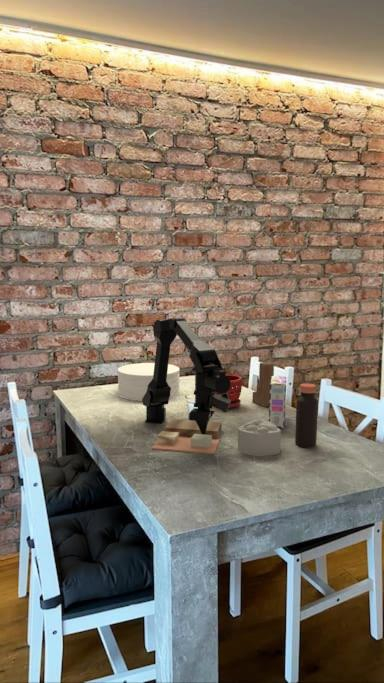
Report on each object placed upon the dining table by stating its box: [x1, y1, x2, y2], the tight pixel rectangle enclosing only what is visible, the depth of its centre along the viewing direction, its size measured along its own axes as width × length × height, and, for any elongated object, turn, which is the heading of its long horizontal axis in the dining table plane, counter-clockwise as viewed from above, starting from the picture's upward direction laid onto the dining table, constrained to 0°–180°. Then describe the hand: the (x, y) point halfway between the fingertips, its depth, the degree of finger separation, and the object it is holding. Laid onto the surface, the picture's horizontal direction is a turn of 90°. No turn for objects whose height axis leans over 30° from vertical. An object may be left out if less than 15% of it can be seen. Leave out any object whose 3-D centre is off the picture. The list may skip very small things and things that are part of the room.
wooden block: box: [251, 361, 275, 408], centre depth 211 cm, size 9×4×18 cm, turn 27°
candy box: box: [268, 375, 287, 429], centre depth 187 cm, size 14×6×16 cm, turn 168°
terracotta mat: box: [151, 436, 221, 455], centre depth 164 cm, size 20×12×1 cm, turn 78°
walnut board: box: [164, 418, 223, 439], centre depth 175 cm, size 18×10×3 cm, turn 78°
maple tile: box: [156, 430, 179, 445], centre depth 165 cm, size 6×5×2 cm
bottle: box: [294, 383, 319, 449], centre depth 163 cm, size 7×7×20 cm
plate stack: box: [117, 362, 181, 402], centre depth 229 cm, size 28×28×12 cm
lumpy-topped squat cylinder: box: [237, 419, 282, 457], centre depth 159 cm, size 10×13×9 cm
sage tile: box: [191, 434, 212, 448], centre depth 163 cm, size 6×5×2 cm
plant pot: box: [215, 374, 243, 409], centre depth 210 cm, size 13×13×12 cm
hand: (203, 434), depth 162 cm, fingers closed
